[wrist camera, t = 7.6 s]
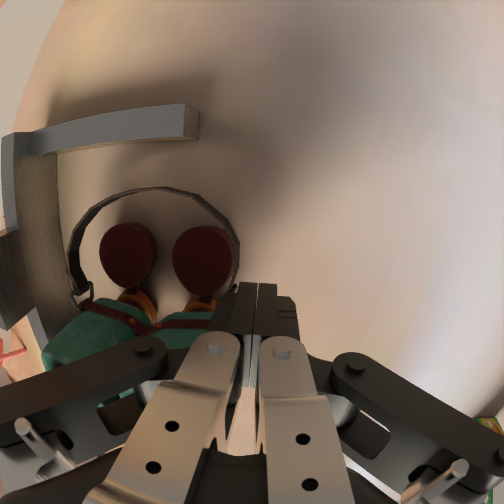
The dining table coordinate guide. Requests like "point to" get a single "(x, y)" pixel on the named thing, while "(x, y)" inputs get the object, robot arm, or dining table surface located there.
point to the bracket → (46, 206)
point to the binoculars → (134, 271)
